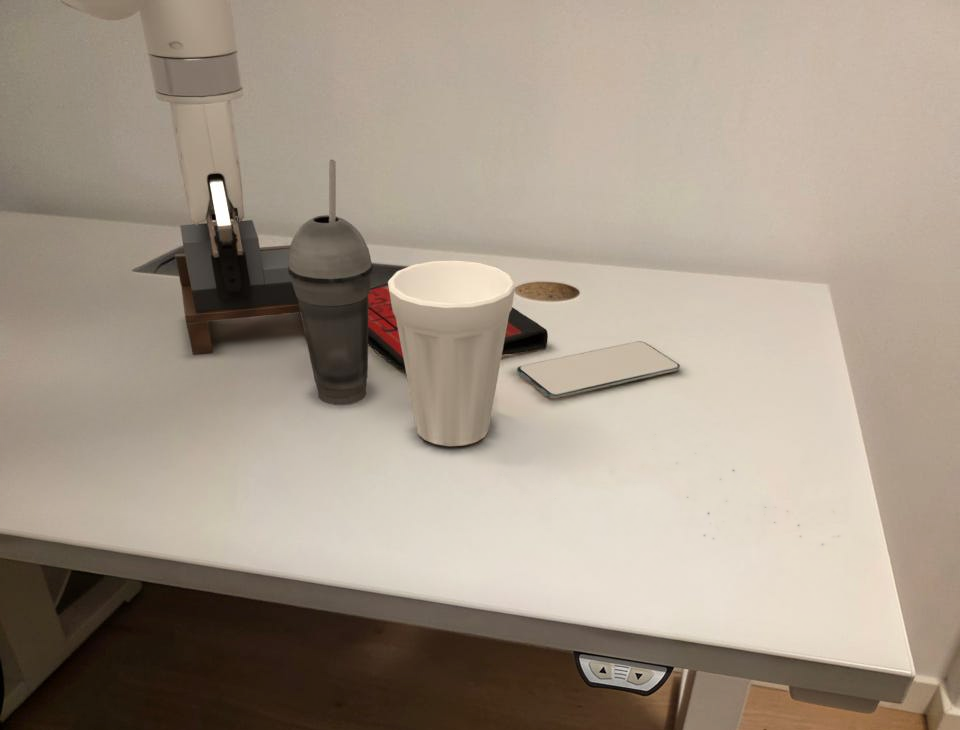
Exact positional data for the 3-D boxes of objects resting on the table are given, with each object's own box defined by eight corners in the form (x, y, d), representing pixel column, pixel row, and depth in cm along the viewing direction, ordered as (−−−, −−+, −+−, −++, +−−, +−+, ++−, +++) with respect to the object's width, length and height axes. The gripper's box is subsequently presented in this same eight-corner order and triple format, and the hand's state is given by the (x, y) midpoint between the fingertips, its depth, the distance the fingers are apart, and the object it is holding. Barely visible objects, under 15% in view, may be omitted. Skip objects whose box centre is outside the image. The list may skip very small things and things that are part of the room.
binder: (451, 263, 105) (549, 327, 91) (452, 283, 106) (549, 349, 93) (323, 292, 99) (407, 365, 85) (326, 313, 101) (409, 387, 87)
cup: (372, 429, 79) (361, 278, 71) (458, 396, 84) (458, 251, 76) (445, 474, 74) (443, 316, 65) (533, 435, 79) (541, 284, 70)
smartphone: (514, 366, 88) (642, 340, 93) (514, 372, 88) (641, 345, 93) (550, 396, 83) (682, 366, 88) (550, 401, 84) (681, 371, 89)
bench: (192, 354, 91) (178, 284, 86) (188, 321, 97) (174, 253, 92) (331, 340, 94) (324, 271, 89) (318, 308, 100) (311, 243, 96)
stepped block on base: (196, 312, 89) (182, 243, 84) (192, 290, 93) (179, 224, 89) (317, 301, 91) (310, 233, 87) (309, 280, 96) (302, 215, 91)
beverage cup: (335, 370, 88) (313, 142, 75) (396, 388, 85) (384, 155, 72) (286, 399, 83) (254, 161, 70) (350, 419, 81) (328, 175, 68)
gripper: (150, 61, 84) (189, 260, 96) (154, 98, 72) (198, 320, 84) (232, 58, 86) (260, 254, 98) (250, 93, 74) (280, 312, 85)
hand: (231, 283), depth 91 cm, fingers closed on stepped block on base, 6 cm apart
